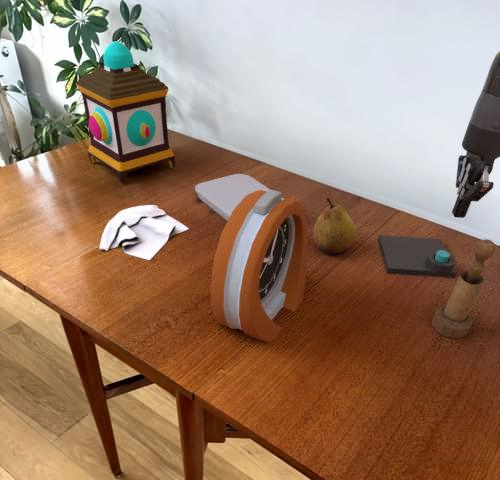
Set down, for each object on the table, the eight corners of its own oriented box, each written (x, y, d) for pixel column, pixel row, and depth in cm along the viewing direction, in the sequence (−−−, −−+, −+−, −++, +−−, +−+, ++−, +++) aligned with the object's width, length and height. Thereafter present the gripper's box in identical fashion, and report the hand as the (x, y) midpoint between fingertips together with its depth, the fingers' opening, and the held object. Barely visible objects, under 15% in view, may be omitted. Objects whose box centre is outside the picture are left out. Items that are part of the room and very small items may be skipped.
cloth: (156, 201, 115) (155, 192, 113) (204, 241, 102) (203, 232, 101) (76, 224, 106) (74, 215, 104) (117, 271, 93) (115, 261, 91)
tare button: (445, 256, 97) (448, 250, 96) (449, 263, 95) (451, 257, 94) (433, 255, 97) (435, 249, 96) (436, 262, 95) (438, 256, 94)
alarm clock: (259, 357, 77) (268, 238, 62) (209, 335, 80) (206, 218, 65) (312, 288, 91) (330, 178, 76) (268, 272, 95) (276, 164, 79)
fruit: (357, 245, 104) (368, 195, 95) (339, 264, 98) (350, 212, 90) (322, 233, 107) (331, 183, 99) (304, 250, 101) (311, 199, 93)
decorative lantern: (120, 188, 119) (98, 56, 99) (82, 162, 130) (56, 38, 109) (183, 168, 130) (175, 44, 109) (143, 146, 140) (130, 29, 119)
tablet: (243, 180, 126) (243, 171, 124) (304, 221, 110) (305, 213, 109) (190, 194, 118) (190, 185, 117) (248, 240, 103) (249, 231, 102)
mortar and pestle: (453, 343, 81) (494, 257, 69) (423, 323, 85) (457, 238, 73) (475, 329, 84) (518, 244, 72) (446, 310, 88) (482, 226, 76)
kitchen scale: (439, 244, 105) (443, 232, 103) (454, 278, 96) (459, 266, 94) (377, 240, 106) (380, 228, 104) (387, 274, 96) (390, 262, 94)
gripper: (532, 138, 72) (488, 234, 84) (503, 110, 82) (467, 200, 94) (483, 135, 72) (447, 232, 84) (460, 107, 82) (430, 198, 94)
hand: (458, 215), depth 89 cm, fingers closed
